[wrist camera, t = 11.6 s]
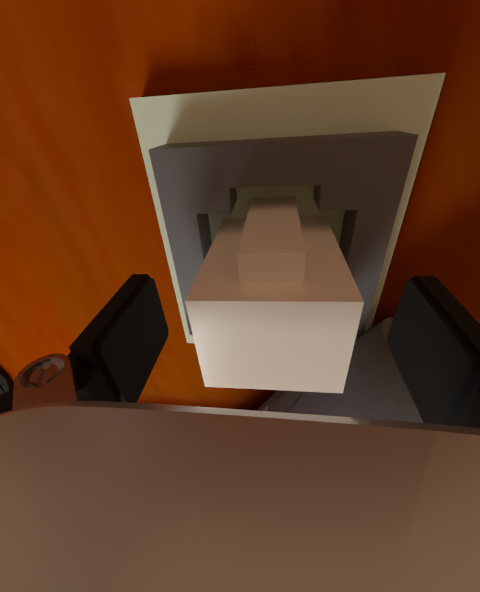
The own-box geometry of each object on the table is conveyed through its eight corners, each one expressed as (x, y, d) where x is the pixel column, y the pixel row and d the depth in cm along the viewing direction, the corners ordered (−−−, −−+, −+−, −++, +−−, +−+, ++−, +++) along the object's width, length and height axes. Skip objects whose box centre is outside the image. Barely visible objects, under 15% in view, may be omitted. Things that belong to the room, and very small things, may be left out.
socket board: (141, 98, 12) (103, 96, 9) (430, 76, 11) (480, 65, 8) (191, 331, 20) (178, 365, 17) (360, 337, 18) (373, 374, 16)
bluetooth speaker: (267, 453, 31) (281, 580, 23) (191, 439, 28) (177, 581, 20) (445, 329, 18) (606, 517, 10) (341, 280, 15) (462, 494, 7)
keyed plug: (221, 199, 13) (177, 271, 7) (327, 194, 12) (371, 269, 7) (230, 286, 16) (205, 386, 10) (317, 285, 15) (342, 393, 9)
